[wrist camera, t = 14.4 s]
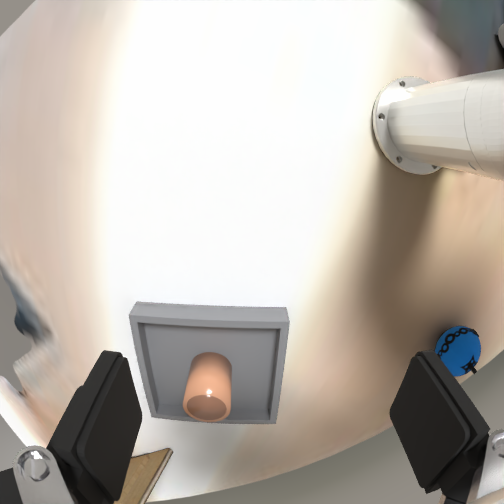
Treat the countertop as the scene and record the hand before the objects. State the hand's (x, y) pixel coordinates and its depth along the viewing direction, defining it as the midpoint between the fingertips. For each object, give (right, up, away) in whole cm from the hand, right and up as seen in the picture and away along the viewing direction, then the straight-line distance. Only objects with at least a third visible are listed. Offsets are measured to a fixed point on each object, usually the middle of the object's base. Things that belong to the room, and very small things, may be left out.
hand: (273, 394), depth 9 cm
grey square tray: (-7, -12, +34) cm, 37 cm away
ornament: (+32, -10, +35) cm, 49 cm away
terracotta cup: (-7, -12, +33) cm, 36 cm away
